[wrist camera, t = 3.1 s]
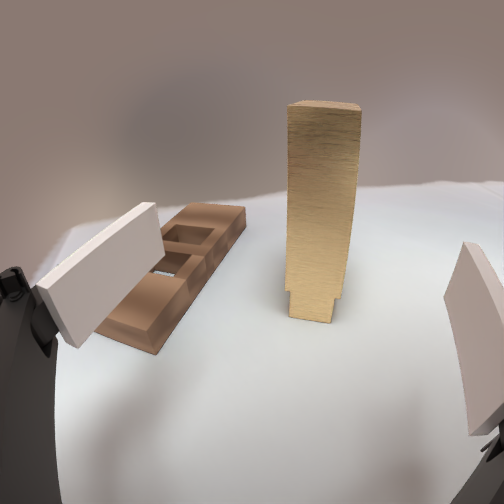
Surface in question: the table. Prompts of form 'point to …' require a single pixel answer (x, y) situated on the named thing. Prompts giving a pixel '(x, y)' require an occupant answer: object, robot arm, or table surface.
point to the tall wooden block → (320, 203)
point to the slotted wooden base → (185, 279)
